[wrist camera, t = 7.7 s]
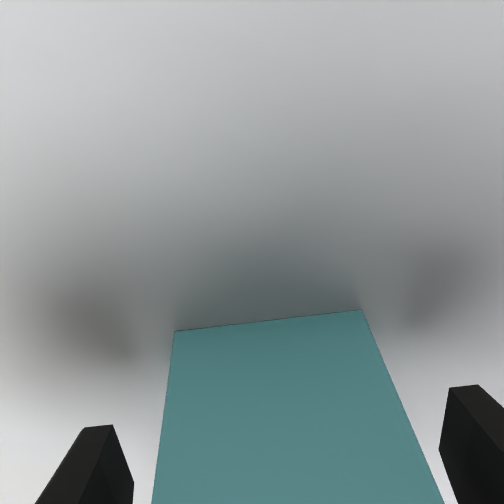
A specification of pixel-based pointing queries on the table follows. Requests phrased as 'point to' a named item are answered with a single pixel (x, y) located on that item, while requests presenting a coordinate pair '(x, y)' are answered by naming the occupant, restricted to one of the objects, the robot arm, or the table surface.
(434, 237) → the table surface
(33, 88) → the table surface
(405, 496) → the teal domino
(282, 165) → the table surface
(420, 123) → the table surface
